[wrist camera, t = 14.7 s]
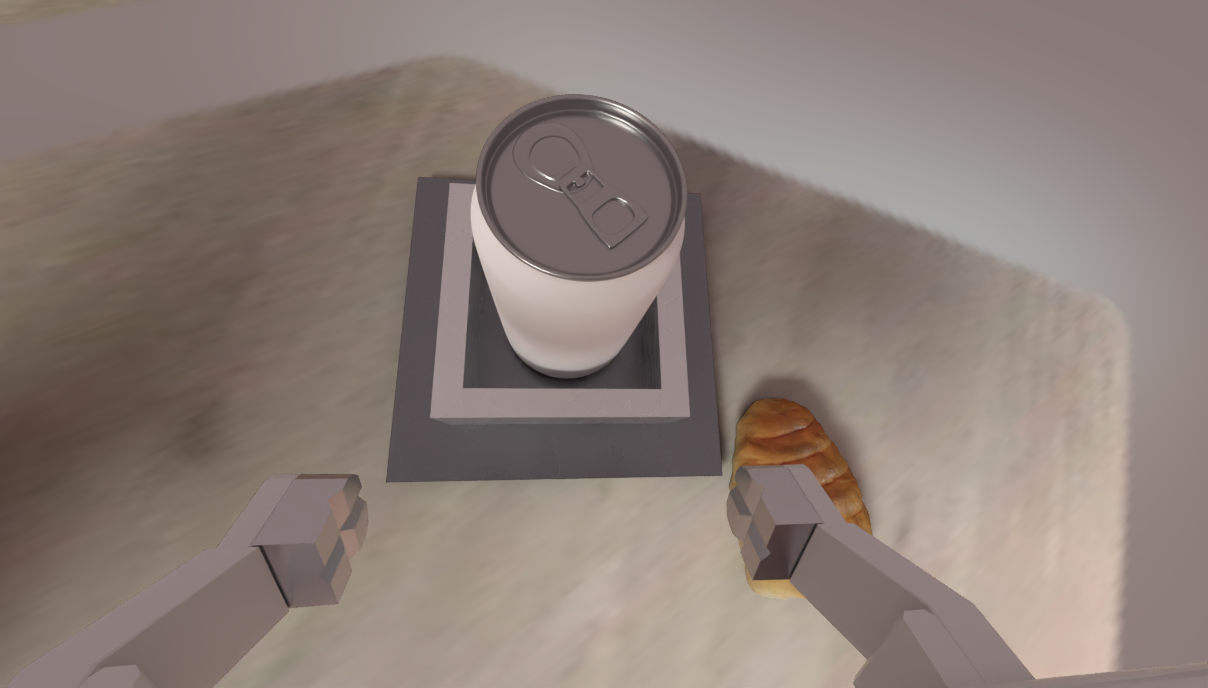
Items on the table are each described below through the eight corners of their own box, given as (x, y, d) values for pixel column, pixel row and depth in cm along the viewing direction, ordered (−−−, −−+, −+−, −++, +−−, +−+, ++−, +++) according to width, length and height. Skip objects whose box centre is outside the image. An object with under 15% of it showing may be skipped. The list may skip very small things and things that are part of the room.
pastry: (699, 411, 24) (727, 403, 20) (810, 391, 25) (856, 380, 22) (743, 599, 22) (783, 626, 18) (862, 567, 23) (922, 588, 19)
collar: (393, 481, 21) (353, 486, 17) (423, 187, 25) (396, 131, 21) (715, 474, 23) (753, 478, 19) (694, 202, 27) (722, 154, 23)
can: (570, 240, 24) (590, 43, 13) (652, 324, 24) (750, 197, 12) (477, 314, 23) (403, 164, 11) (563, 407, 22) (577, 349, 10)
